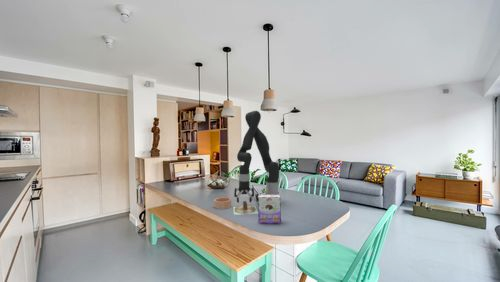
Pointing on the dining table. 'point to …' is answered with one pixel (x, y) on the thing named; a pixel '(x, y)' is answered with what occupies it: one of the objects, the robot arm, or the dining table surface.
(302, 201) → the dining table surface
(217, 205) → the bowl
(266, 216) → the candy box
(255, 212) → the mat
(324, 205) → the dining table surface
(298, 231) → the dining table surface
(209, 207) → the dining table surface
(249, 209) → the lid
